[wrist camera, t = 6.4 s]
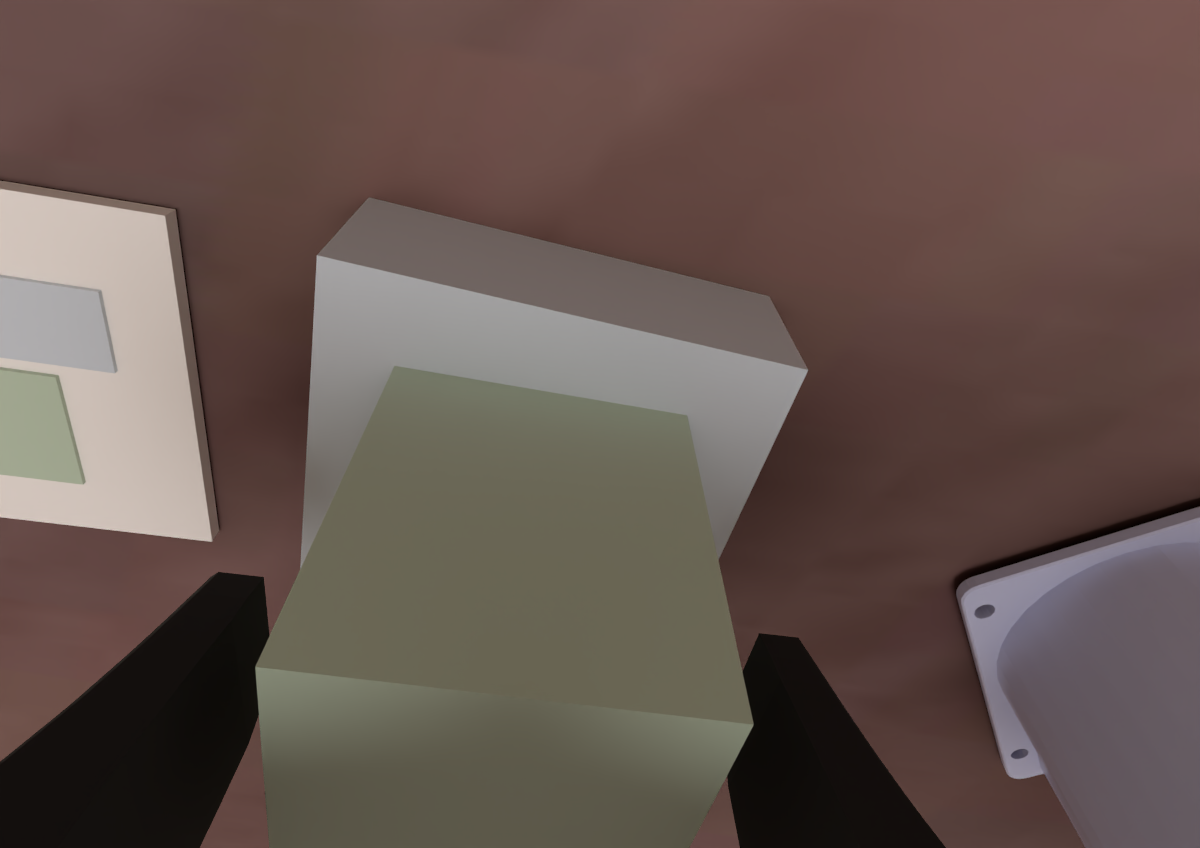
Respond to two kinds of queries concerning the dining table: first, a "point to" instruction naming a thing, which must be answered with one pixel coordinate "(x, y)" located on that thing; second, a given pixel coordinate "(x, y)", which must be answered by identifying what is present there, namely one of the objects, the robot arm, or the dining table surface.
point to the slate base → (539, 342)
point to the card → (98, 368)
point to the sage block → (504, 633)
